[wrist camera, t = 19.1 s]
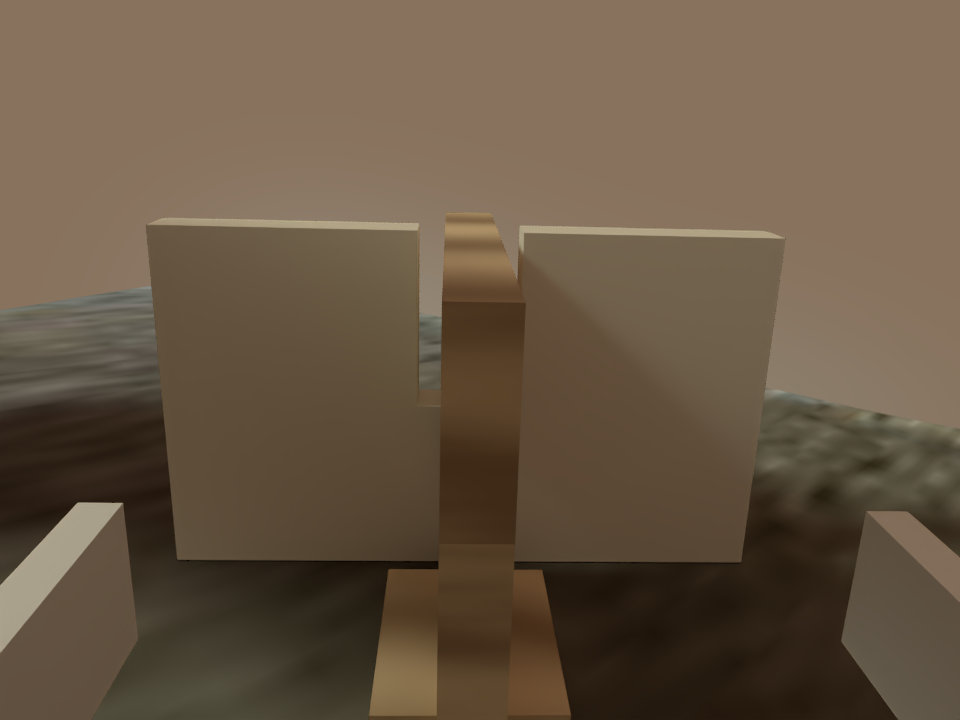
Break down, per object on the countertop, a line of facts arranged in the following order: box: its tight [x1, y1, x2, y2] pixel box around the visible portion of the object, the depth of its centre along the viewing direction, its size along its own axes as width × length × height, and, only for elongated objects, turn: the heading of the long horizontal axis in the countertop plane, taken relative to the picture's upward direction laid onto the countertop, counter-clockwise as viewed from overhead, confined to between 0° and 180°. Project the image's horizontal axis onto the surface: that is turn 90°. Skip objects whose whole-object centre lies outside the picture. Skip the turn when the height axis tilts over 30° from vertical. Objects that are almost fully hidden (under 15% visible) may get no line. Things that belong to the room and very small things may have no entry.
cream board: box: [146, 218, 786, 562], centre depth 33 cm, size 24×2×14 cm, turn 92°
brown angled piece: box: [369, 212, 571, 720], centre depth 30 cm, size 18×6×14 cm, turn 2°
